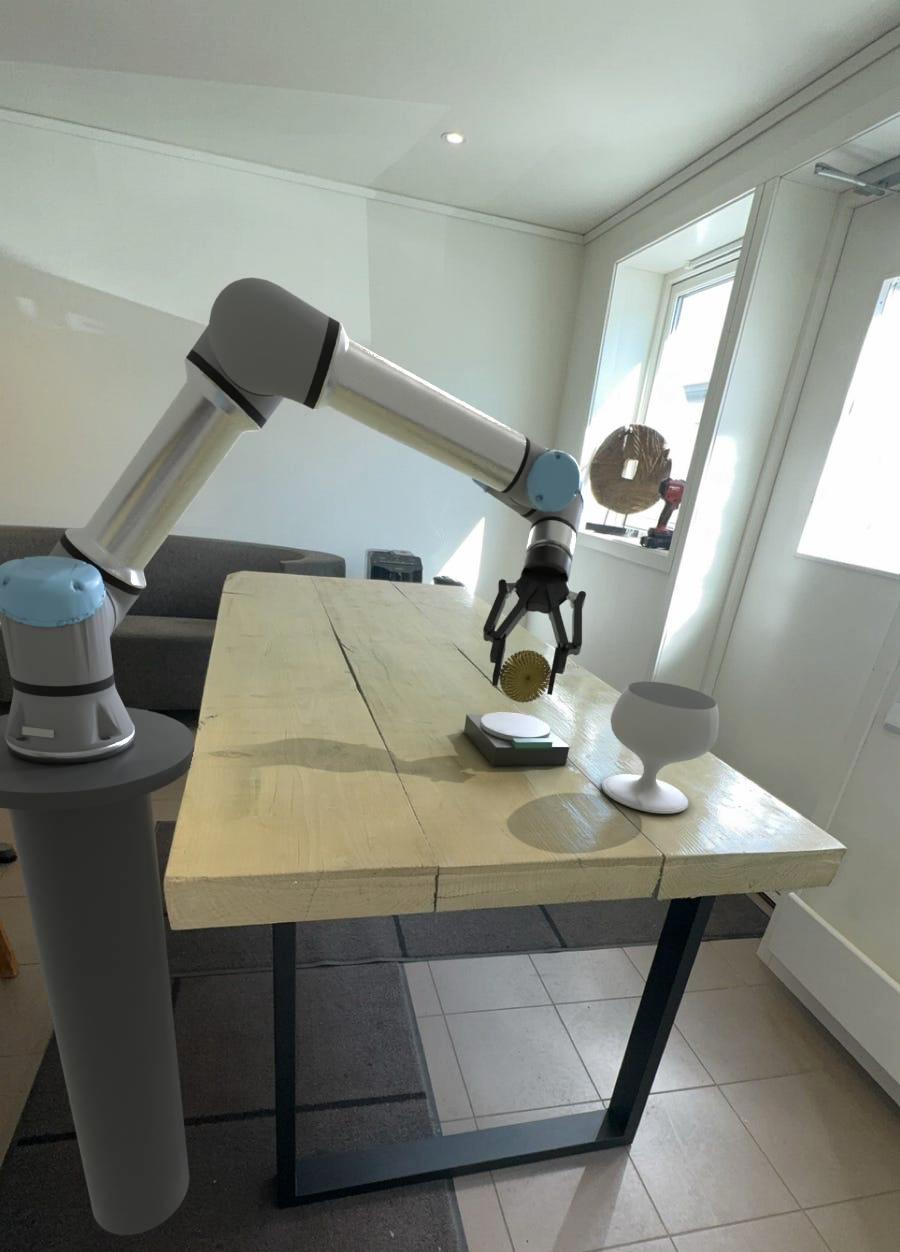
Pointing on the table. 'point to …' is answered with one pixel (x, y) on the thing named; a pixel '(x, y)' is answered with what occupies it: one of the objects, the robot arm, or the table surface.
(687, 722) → the chalice
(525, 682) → the sculpture
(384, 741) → the table surface
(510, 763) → the scale
